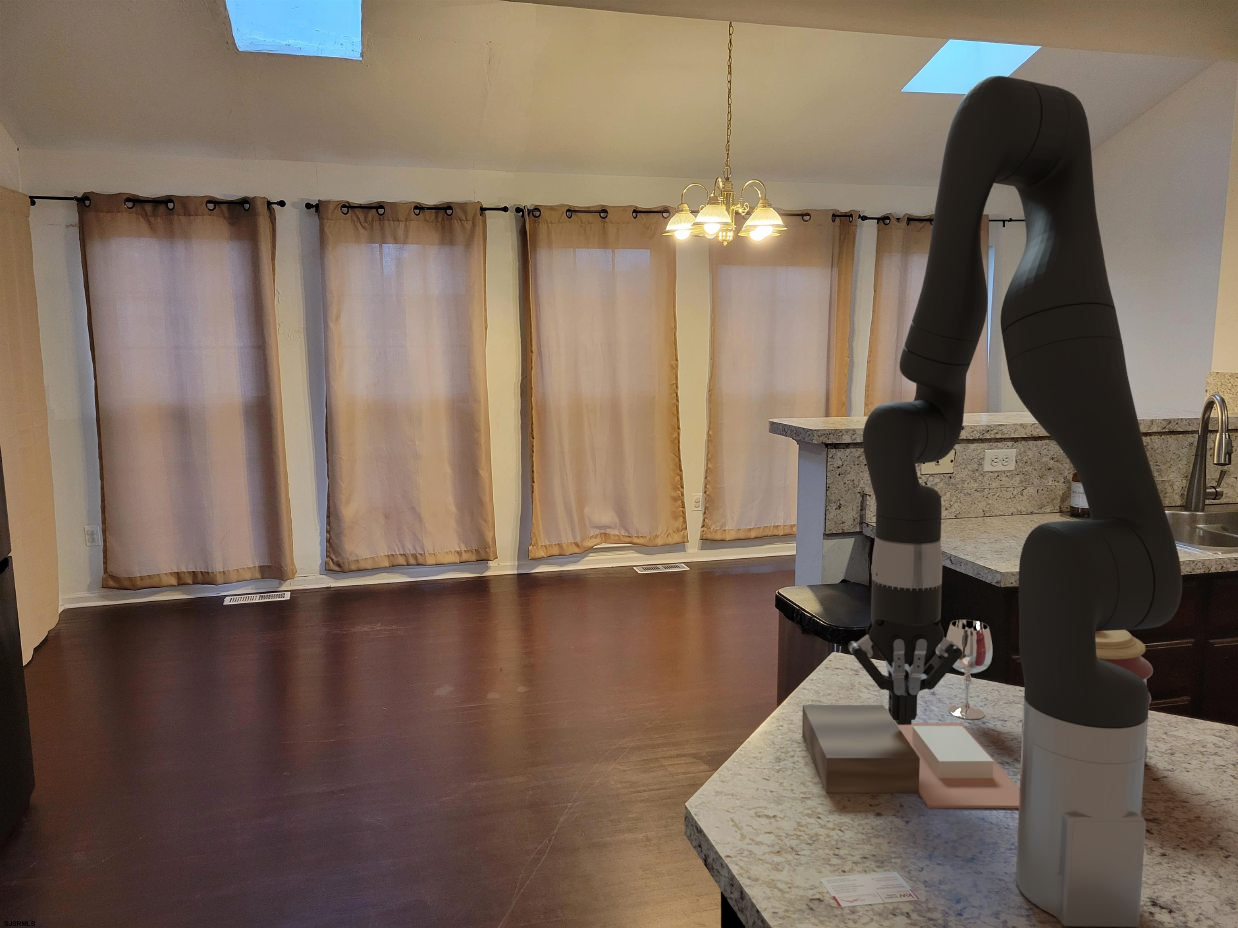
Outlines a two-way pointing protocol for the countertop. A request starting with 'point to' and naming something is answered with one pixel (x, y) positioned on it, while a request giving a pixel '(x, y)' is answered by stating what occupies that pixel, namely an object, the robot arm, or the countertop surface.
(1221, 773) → the countertop surface
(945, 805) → the mat
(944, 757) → the pale grey rectangular block
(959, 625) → the wineglass
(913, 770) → the block
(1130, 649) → the canister
